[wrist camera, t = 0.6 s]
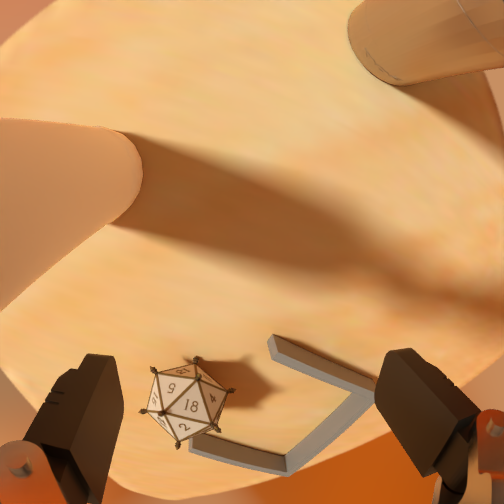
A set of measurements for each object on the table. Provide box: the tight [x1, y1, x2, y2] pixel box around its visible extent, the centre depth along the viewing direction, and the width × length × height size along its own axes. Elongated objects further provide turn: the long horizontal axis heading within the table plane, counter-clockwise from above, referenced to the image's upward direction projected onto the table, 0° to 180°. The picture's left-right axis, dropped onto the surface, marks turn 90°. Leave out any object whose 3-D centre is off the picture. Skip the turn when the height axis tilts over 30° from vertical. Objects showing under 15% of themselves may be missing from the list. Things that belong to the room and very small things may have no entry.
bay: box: [189, 334, 376, 477], centre depth 33 cm, size 18×15×3 cm
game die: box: [138, 356, 236, 450], centre depth 27 cm, size 9×8×10 cm
